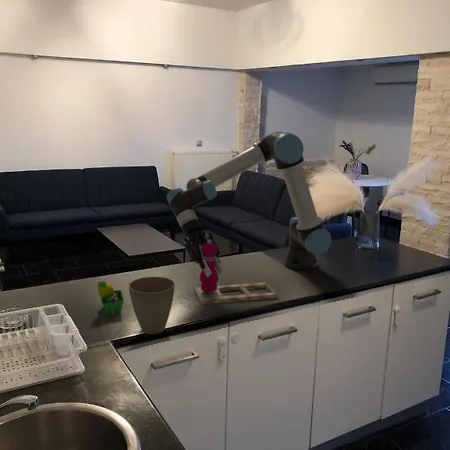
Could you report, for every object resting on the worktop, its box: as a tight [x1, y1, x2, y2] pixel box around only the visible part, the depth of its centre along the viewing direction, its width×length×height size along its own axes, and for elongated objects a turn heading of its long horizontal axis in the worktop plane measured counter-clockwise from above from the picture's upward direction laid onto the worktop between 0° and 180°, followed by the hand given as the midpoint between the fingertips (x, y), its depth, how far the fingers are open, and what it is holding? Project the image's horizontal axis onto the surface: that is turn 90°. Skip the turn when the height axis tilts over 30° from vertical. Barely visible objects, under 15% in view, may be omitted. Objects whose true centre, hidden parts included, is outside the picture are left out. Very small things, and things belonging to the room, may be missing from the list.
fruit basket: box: [96, 280, 125, 316], centre depth 181 cm, size 11×9×11 cm
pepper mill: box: [199, 239, 219, 292], centre depth 193 cm, size 7×7×20 cm
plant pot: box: [128, 276, 176, 335], centre depth 165 cm, size 15×15×16 cm
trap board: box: [193, 281, 278, 305], centre depth 198 cm, size 30×14×2 cm, turn 104°
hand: (215, 273), depth 191 cm, fingers closed on pepper mill, 5 cm apart
